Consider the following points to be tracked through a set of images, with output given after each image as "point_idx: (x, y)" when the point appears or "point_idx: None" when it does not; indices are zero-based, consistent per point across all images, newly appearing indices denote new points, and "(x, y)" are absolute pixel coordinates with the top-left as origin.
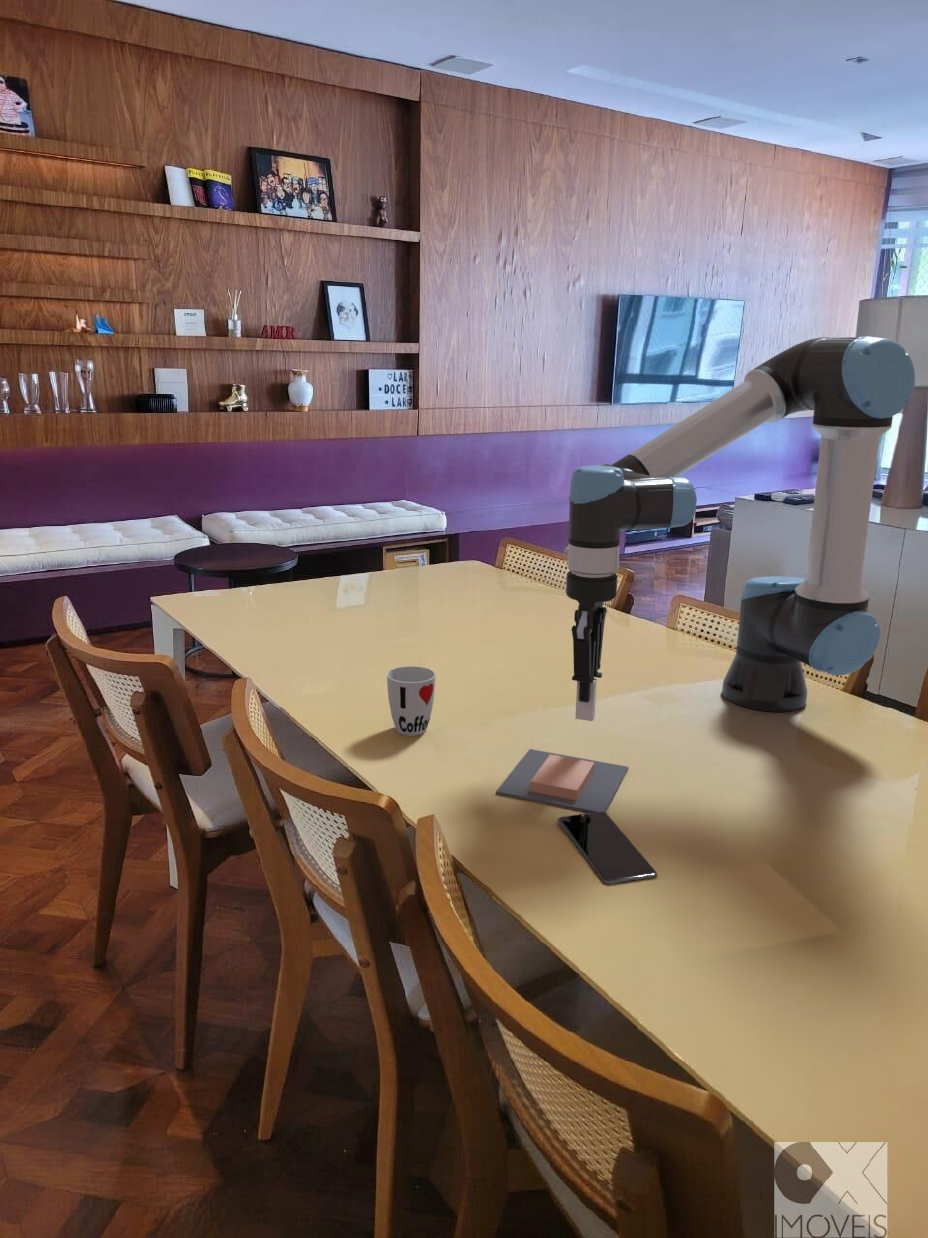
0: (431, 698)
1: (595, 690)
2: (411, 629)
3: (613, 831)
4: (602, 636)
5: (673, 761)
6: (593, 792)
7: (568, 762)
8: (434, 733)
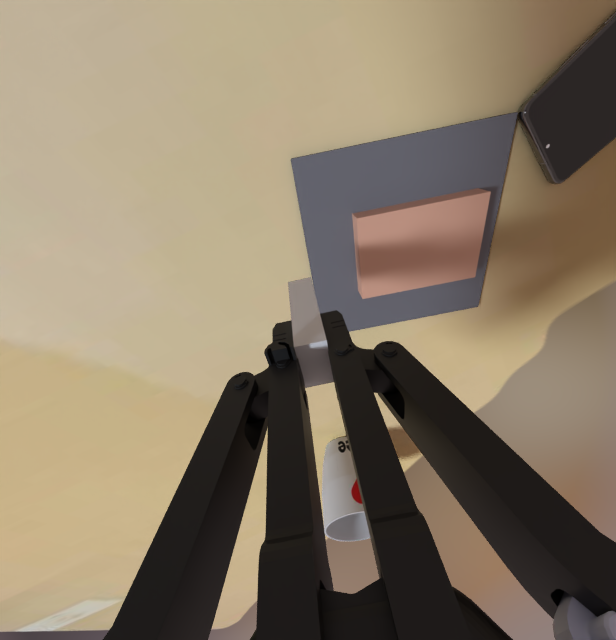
0: (352, 478)
1: (299, 322)
2: (96, 562)
3: (606, 50)
4: (181, 511)
5: (176, 65)
6: (436, 174)
7: (379, 259)
8: (337, 430)
